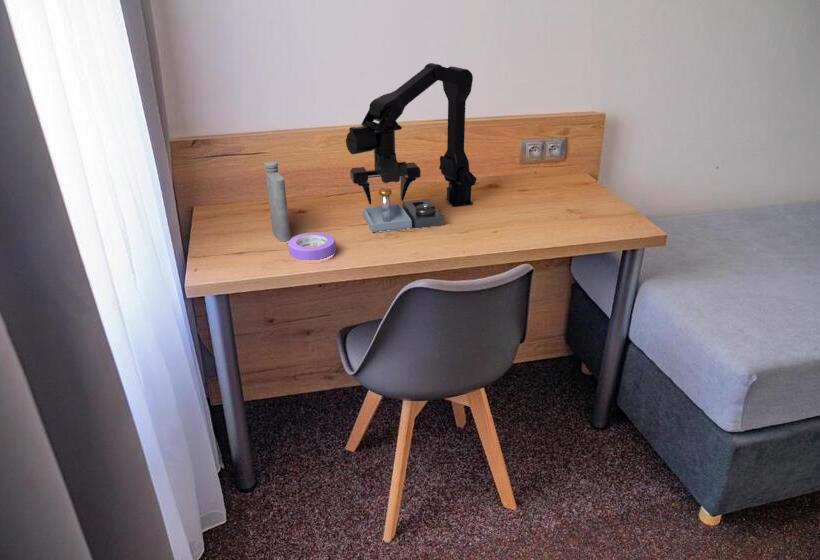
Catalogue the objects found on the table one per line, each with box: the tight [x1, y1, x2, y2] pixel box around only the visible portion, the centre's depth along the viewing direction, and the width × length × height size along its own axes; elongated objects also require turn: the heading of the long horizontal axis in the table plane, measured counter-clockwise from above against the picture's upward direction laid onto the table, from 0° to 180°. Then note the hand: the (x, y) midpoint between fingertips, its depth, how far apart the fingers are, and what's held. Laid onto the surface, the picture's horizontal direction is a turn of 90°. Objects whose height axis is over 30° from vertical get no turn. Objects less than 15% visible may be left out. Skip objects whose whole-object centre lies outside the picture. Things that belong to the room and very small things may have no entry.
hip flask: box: [263, 160, 292, 242], centre depth 168 cm, size 16×4×20 cm, turn 18°
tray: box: [362, 203, 413, 233], centre depth 178 cm, size 11×13×2 cm
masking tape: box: [287, 231, 336, 261], centre depth 160 cm, size 12×12×4 cm
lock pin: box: [378, 187, 392, 222], centre depth 177 cm, size 4×4×9 cm
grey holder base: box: [401, 198, 444, 229], centre depth 180 cm, size 8×14×5 cm, turn 15°
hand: (386, 202), depth 176 cm, fingers open, 9 cm apart
